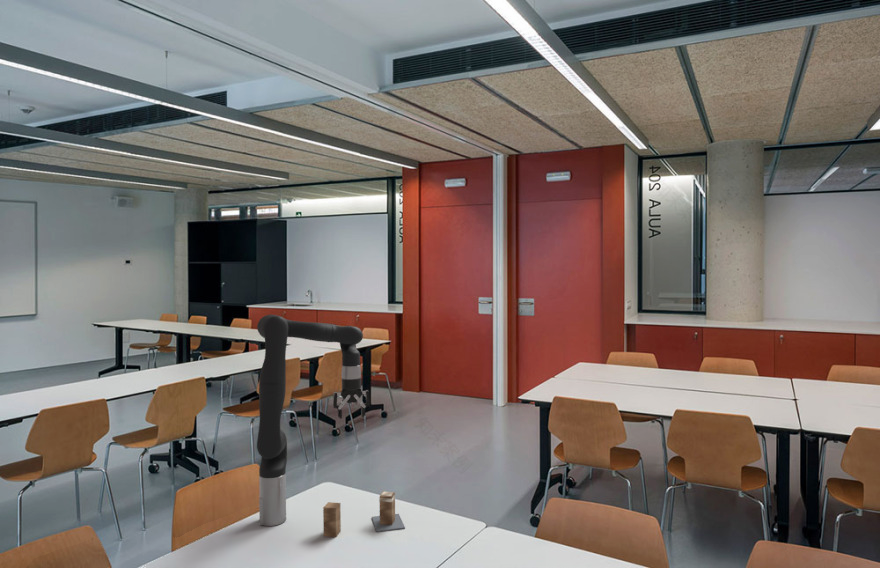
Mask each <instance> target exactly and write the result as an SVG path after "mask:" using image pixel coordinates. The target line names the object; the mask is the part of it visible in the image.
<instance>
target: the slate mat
mask: <svg viewBox="0 0 880 568" xmlns="http://www.w3.org/2000/svg"><path fill="white" fill-rule="evenodd" d="M371 520H372V523H373V526H374V528H375V531H376V533H381V532H382V533H383V532H388V531H389V532H390V531H398V530H405V529H406V526H405V524H404V523H403V520H402V518H401V515H400V514H399V513H395V521H394V523H393V524H392V525H385V524H380V515H377V516H371Z"/></svg>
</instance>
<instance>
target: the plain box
mask: <svg viewBox="0 0 880 568" xmlns="http://www.w3.org/2000/svg"><path fill="white" fill-rule="evenodd" d="M322 508H323V510H322V511H323V514H322V515H323V516H322V517H323V519H322V520H323V537H327V538H328V537H329V538H337V537H338V536H339V535H340V534H341V531H342V528H341V526H342V524H341V522H342V520H341V518H342V517H341V515H342V514H341V502H331V501H329V502H327V503H326V504H325V505H324V506H323V507H322Z"/></svg>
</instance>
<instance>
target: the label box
mask: <svg viewBox="0 0 880 568" xmlns="http://www.w3.org/2000/svg"><path fill="white" fill-rule="evenodd" d="M378 499H379V500H378V501H379V516H380V524H385V525H392V524H393V523H394V521H395V514H396V492H394V491H382V492H381V494H380V495H379V498H378Z"/></svg>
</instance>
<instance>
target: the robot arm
mask: <svg viewBox="0 0 880 568" xmlns="http://www.w3.org/2000/svg"><path fill="white" fill-rule="evenodd" d="M256 327H257V328H256V330H257V332H258V334H259V335H260V336H261V337H262V338H264V349H265V354H264V360H263V362H262V365H261V370H260V374H259V381H258V384H259V385H258V397H259V400H258V405H259V407H258V411H259V425H258V432H257V440H256V450H257V452H258V455H260V457H261V458H260V464H259V469H258V470H259V471H258V472H259V473H258V476H259V479H258V482H259V500H258V501H259V502H258V503H259V505H258V506H259V507H258V508H259V510H258V511H259V514H258V515H259V526H265V527H273V526H274V527H275V526H279V525H281V524H283V523H285V522H286V521H287V497H286V496H287V489H286V488H287V482H286V481H287V480H286V474H287V469H286V468H287V461H288V460H287V459H288V442H287V441H288V440H287V439H288V438H287V435H286V433H285V432H284V431H283V430H282V429H281V418H282V413H283V412H282V411H283V408H284V403H285V397H286V383H287V379H286V378H287V377H286V376H287V375H286V370H287V366H286V363H287V362H286V353H287V352H286V351H287V344H288V338H295V339H303V340H308V341H315V342H323V343H324V342H325V343H339V346H340V352H341V354H342V355H341V363H342V364H341V375H340V376H341V391H340V392H337V391H334V392H333V400H332V402H333V403H332V404H333V405H332V407H333V409H337V416H338V418H339V419H340V420H342V419H343V412H342V411H343V409H342V408H343V407H344V406H345V405H346V403H347V404H351V403H355V404H356V403H357V402H358V403H359V404H360V406H361V407H360V409H361V411H360V412H361V414H360V417H361V418H365V416H366V408H367V407H369V406H371V400H370V399H371V398H370V391H369V390H368V389H366V390H362V369H361V353H360V351H359V350H358V349H357V344H359V343H360V342H361V341H362V340H363V337H364V333H363V331H362V329H360V328H359V327H358V326H352V325H337V324H333V323H324V322H314V321H313V322H312V321H298V320H292V319H291V320H290V319H288V318H287V319H286V318H284V317H283V316H280V315H277V314H276V315H275V314H267V315H264V316H262V317H261V318H260V319H259V321H258V323H257V326H256ZM362 395H363V396H364V397H365V400H366V401H365V402H363V400H362V399H361V397H362ZM340 397H341V398H342V400H341V401H340V403H339V404H338V399H339V398H340Z"/></svg>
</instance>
